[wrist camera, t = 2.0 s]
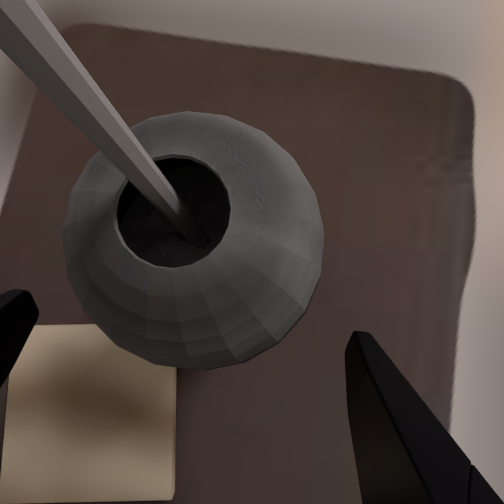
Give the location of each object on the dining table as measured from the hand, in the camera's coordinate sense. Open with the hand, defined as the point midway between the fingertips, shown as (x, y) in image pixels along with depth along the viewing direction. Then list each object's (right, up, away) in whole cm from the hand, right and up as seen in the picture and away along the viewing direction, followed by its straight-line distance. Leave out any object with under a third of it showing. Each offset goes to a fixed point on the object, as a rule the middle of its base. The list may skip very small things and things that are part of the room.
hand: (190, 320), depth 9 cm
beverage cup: (0, 0, +12) cm, 12 cm away
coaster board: (-8, -8, +11) cm, 16 cm away
